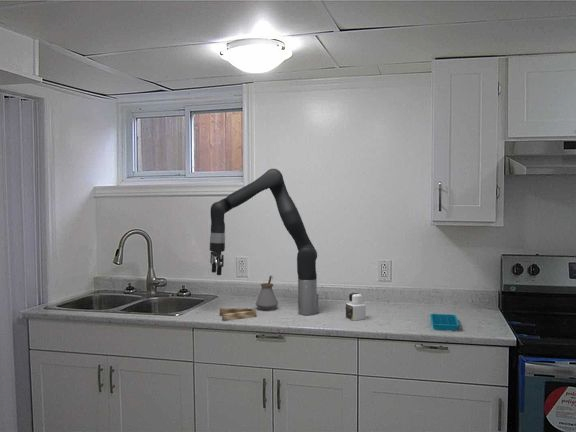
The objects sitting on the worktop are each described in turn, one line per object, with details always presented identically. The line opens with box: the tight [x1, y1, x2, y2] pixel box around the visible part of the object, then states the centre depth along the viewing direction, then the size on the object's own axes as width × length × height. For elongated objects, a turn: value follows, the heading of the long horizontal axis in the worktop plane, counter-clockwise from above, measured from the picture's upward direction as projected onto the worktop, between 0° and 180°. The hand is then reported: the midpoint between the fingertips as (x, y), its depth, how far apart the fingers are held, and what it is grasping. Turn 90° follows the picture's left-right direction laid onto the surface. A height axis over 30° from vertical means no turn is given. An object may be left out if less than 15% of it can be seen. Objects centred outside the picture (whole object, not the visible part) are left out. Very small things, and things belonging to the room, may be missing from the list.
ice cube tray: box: [429, 313, 460, 332], centre depth 236 cm, size 12×20×3 cm, turn 166°
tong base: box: [221, 308, 257, 322], centre depth 251 cm, size 18×3×3 cm, turn 119°
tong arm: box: [219, 307, 253, 316], centre depth 257 cm, size 17×2×3 cm, turn 89°
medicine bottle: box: [345, 292, 367, 322], centre depth 249 cm, size 7×7×12 cm
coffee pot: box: [255, 275, 279, 312], centre depth 275 cm, size 21×12×15 cm, turn 173°
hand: (216, 273), depth 263 cm, fingers open, 8 cm apart
